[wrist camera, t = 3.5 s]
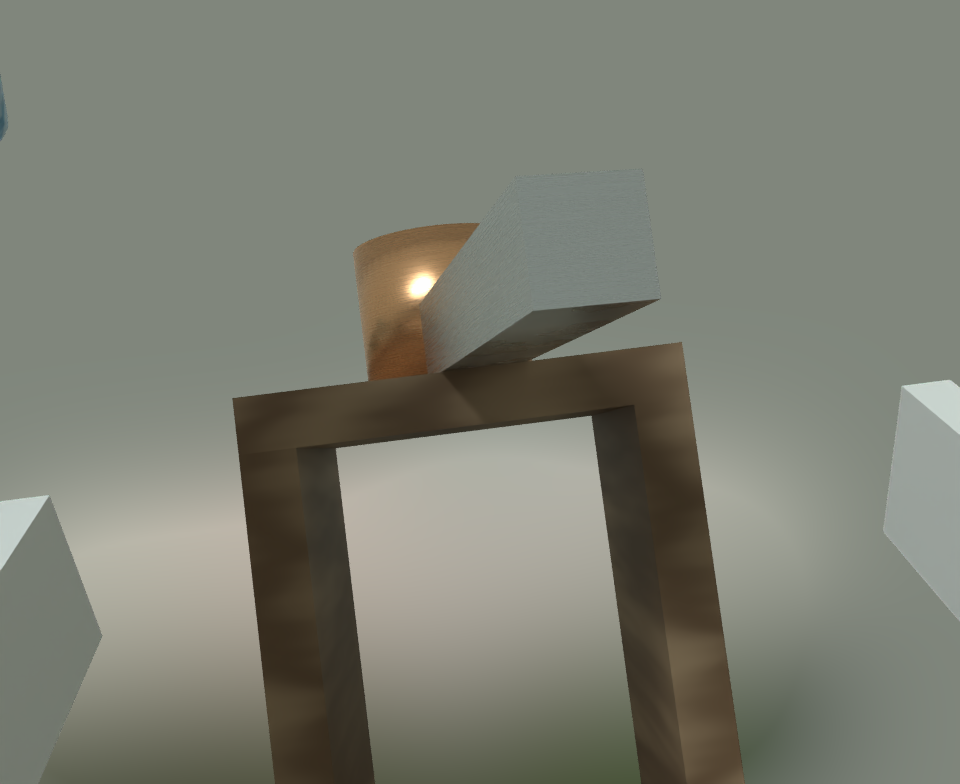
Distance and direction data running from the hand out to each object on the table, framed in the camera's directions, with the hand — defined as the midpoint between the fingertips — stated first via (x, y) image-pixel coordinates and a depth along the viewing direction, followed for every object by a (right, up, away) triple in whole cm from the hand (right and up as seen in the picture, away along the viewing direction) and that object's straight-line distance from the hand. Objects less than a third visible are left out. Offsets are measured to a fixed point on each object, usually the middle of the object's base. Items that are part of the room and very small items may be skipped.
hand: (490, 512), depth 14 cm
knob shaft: (0, +3, +16) cm, 17 cm away
